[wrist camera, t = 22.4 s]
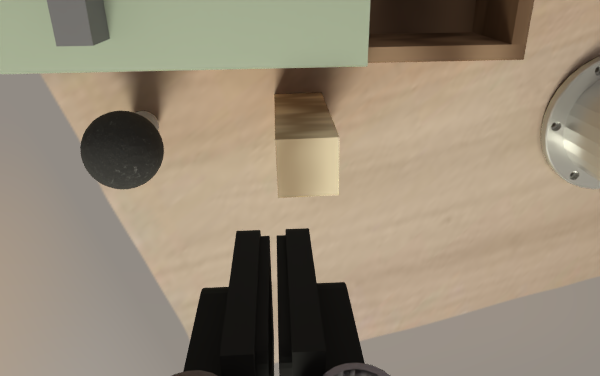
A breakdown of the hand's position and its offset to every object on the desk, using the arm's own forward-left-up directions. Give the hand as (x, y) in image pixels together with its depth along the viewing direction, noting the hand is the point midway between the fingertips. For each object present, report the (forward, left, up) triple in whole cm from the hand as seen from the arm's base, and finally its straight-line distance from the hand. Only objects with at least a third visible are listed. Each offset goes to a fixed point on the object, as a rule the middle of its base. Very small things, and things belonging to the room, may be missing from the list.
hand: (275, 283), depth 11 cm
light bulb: (+11, +5, -31) cm, 34 cm away
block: (-2, +5, -31) cm, 32 cm away
